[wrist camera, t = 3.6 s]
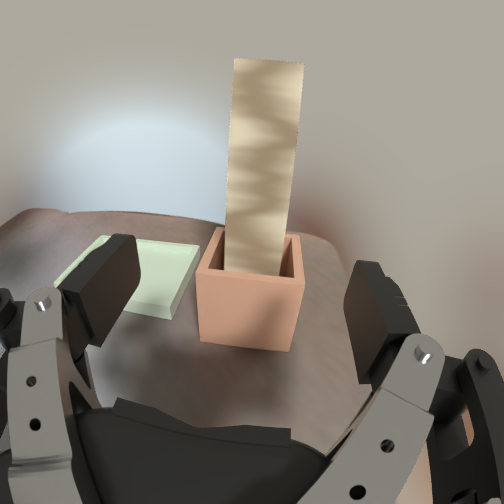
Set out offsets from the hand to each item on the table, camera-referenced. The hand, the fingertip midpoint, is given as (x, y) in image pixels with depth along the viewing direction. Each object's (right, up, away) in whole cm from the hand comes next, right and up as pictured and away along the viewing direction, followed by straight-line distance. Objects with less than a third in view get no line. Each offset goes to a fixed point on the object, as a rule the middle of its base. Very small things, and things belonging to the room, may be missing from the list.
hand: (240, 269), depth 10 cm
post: (0, -5, +15) cm, 16 cm away
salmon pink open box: (0, -5, +15) cm, 16 cm away
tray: (-13, -2, +19) cm, 24 cm away
